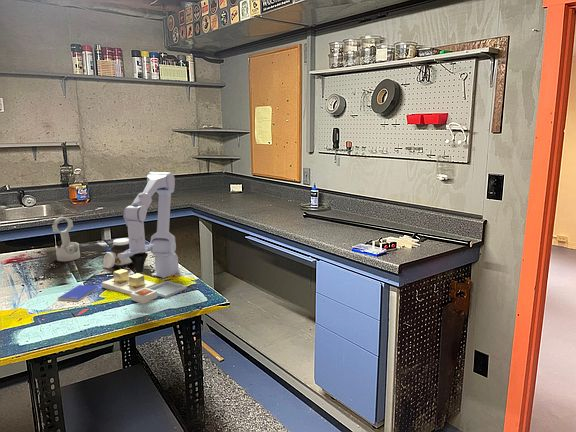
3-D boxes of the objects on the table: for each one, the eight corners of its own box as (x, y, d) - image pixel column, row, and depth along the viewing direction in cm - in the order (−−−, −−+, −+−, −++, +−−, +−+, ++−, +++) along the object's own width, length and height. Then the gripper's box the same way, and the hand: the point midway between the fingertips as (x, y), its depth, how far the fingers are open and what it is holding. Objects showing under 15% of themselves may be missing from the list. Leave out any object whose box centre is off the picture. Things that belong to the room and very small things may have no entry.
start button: (144, 295, 163) (144, 288, 162) (152, 298, 161) (151, 291, 160) (136, 299, 160) (135, 292, 159) (143, 301, 158) (143, 294, 157)
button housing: (145, 294, 165) (144, 287, 164) (157, 298, 162) (156, 291, 161) (131, 300, 159) (130, 293, 159) (143, 304, 156) (142, 297, 155)
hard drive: (78, 298, 159) (97, 285, 171) (57, 297, 160) (78, 284, 172) (78, 302, 159) (97, 289, 171) (58, 301, 160) (78, 288, 172)
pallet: (125, 278, 181) (124, 274, 181) (156, 287, 172) (156, 283, 171) (102, 287, 172) (101, 282, 172) (134, 297, 163) (133, 292, 162)
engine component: (84, 257, 209) (73, 253, 215) (79, 216, 204) (68, 213, 210) (61, 263, 200) (51, 259, 206) (56, 220, 196) (45, 217, 202)
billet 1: (122, 282, 177) (121, 269, 176) (129, 284, 175) (128, 270, 174) (114, 286, 174) (113, 271, 172) (121, 288, 172) (119, 273, 170)
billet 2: (138, 287, 172) (137, 273, 171) (145, 289, 170) (144, 275, 169) (129, 290, 169) (128, 276, 168) (136, 292, 167) (135, 278, 166)
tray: (167, 284, 176) (166, 280, 175) (187, 289, 170) (186, 286, 170) (145, 293, 166) (145, 289, 166) (165, 299, 161) (165, 295, 161)
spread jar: (137, 262, 202) (135, 238, 199) (124, 270, 191) (122, 245, 188) (114, 261, 204) (112, 237, 201) (99, 269, 193) (97, 244, 190)
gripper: (128, 243, 153) (131, 279, 156) (159, 234, 165) (161, 268, 169) (114, 241, 157) (118, 276, 160) (146, 232, 169) (148, 264, 172)
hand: (139, 271), depth 164 cm, fingers closed
